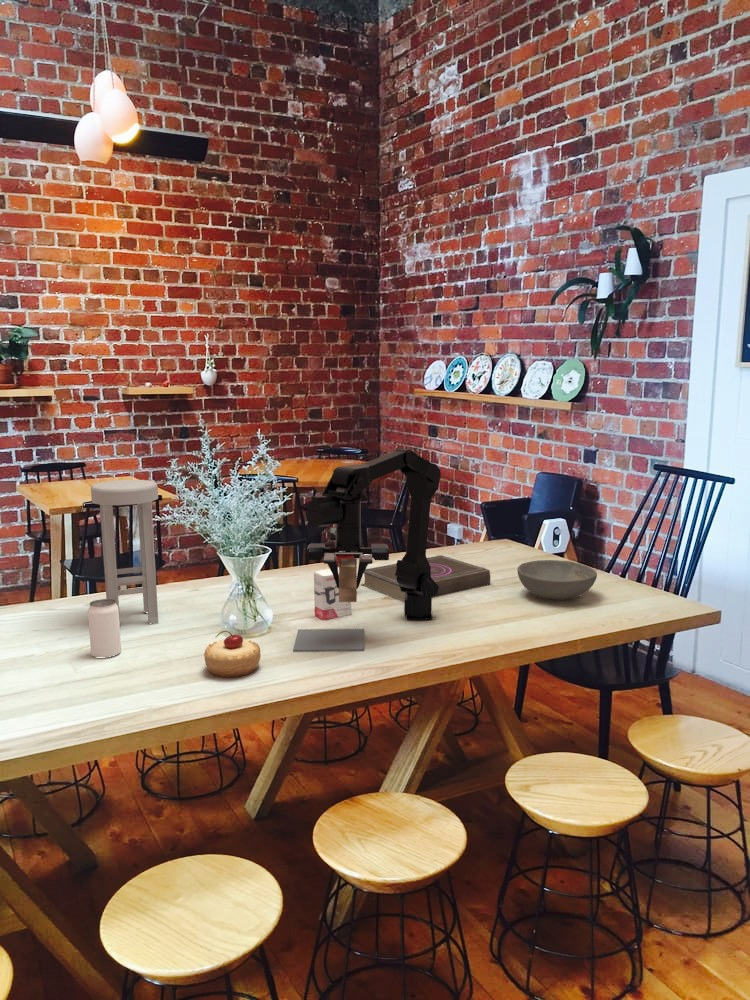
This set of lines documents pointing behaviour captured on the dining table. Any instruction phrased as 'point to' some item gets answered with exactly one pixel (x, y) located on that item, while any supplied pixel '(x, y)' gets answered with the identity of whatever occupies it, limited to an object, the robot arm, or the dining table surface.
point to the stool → (143, 496)
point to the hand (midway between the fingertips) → (347, 588)
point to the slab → (348, 580)
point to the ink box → (328, 596)
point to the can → (104, 628)
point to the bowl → (556, 578)
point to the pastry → (232, 656)
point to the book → (443, 572)
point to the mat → (329, 640)
